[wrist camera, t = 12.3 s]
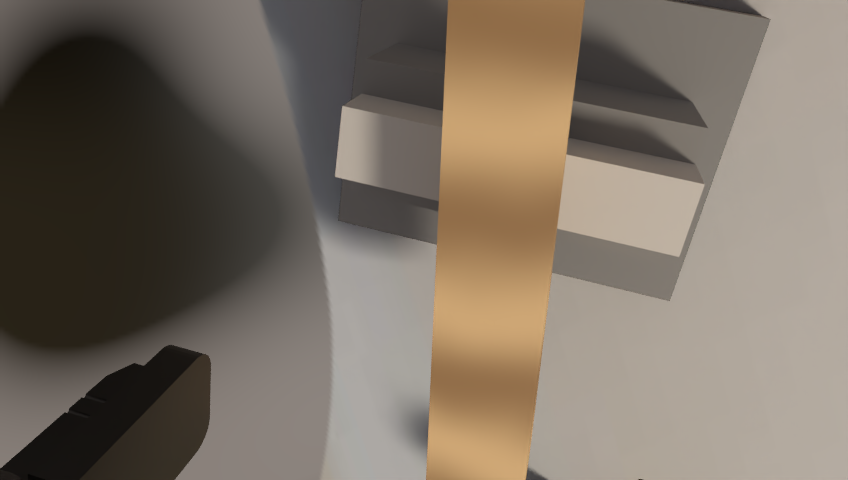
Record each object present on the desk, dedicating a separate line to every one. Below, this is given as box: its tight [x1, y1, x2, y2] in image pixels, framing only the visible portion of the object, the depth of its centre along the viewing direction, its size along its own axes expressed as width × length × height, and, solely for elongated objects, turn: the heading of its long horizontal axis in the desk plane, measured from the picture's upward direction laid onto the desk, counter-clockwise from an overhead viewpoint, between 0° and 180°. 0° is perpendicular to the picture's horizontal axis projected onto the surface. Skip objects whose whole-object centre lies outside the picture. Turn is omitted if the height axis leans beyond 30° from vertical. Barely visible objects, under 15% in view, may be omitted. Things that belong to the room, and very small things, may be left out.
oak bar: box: [426, 0, 585, 480], centre depth 25 cm, size 24×4×4 cm, turn 178°
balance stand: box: [335, 0, 770, 301], centre depth 30 cm, size 14×18×9 cm
